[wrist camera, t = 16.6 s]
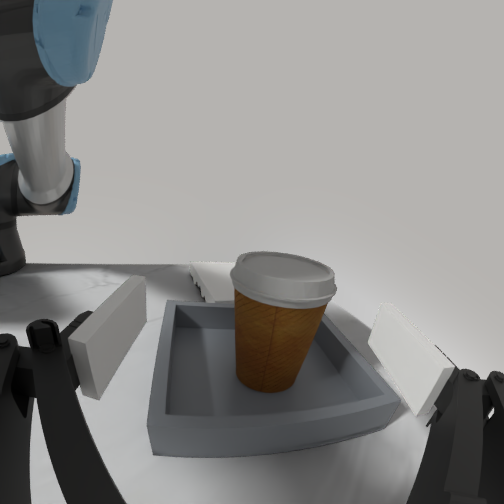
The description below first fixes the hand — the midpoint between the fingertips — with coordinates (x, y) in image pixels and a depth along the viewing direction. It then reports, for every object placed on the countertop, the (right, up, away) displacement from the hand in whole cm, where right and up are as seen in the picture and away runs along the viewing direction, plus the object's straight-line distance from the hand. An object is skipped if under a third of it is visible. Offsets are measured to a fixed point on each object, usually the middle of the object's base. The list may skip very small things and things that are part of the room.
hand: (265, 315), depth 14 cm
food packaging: (-3, -5, +36) cm, 37 cm away
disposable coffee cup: (+1, -10, +13) cm, 16 cm away
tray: (0, -10, +13) cm, 16 cm away
